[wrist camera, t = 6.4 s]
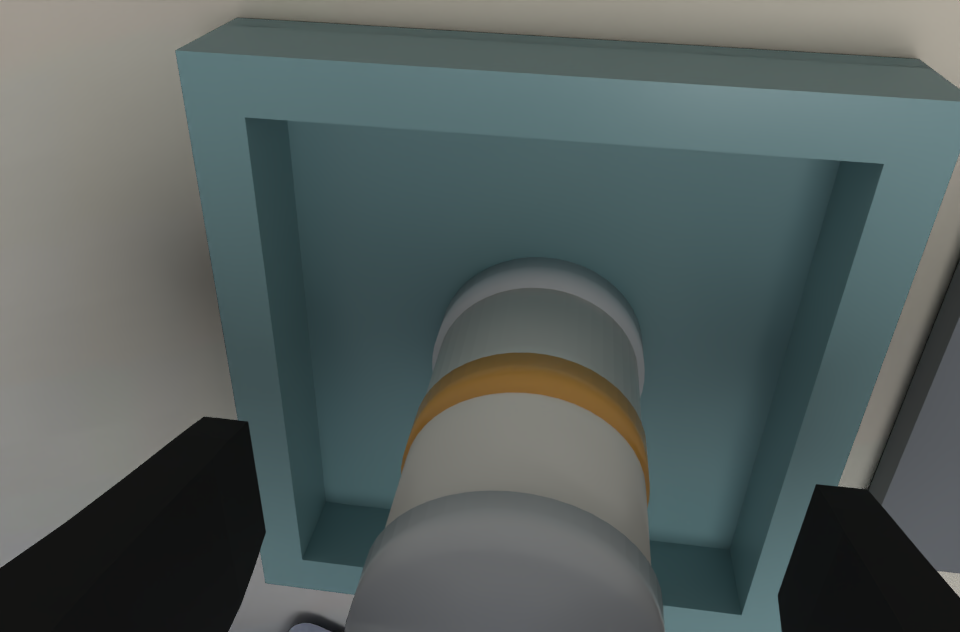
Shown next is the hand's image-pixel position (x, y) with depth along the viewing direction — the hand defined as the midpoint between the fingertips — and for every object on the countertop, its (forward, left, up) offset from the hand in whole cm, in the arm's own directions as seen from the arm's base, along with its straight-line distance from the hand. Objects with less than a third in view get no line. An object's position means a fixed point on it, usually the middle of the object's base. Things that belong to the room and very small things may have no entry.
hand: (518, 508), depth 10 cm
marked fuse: (0, 0, -4) cm, 4 cm away
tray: (0, 0, -4) cm, 4 cm away
